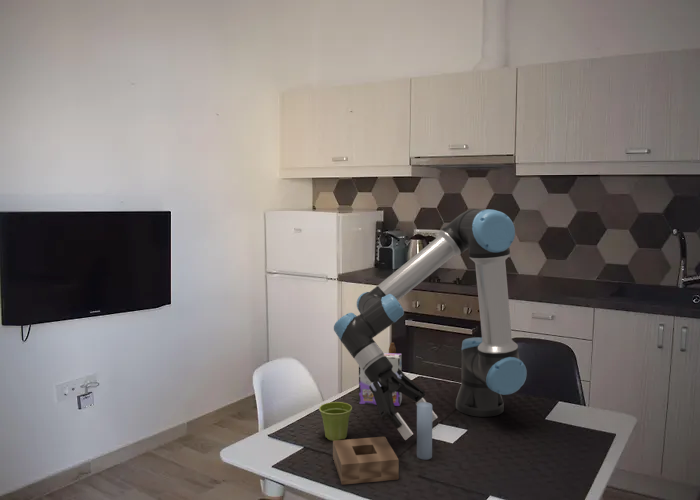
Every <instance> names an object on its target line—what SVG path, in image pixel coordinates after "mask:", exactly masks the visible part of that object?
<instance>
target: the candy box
mask: <svg viewBox="0 0 700 500" xmlns="http://www.w3.org/2000/svg"><path fill="white" fill-rule="evenodd" d="M383 353H384V355H383V356H385V357H387V358H388V360H389V361H390V362H391V364H392V365H393V368H392V371H393V372H394V373H396V372H397V371H398V370H401V371H402V370H403V369H402V368H403V367H402V353H396V354H395V353H389V352H383ZM402 372H403V371H402ZM401 379H402V378H401ZM372 383H373V382H370V380H369V379H368V377H367V376H366V375H365V370H362V369H361V368H360V366H359V365H358V395H359V396H358V404H360V405H373V406H377V404H376V401H375V398H374V395H373V393H372V391H371V390H370V388H369V386H370V385H371V384H372ZM399 385H400V384H399ZM392 396H393V403H394V407H400V406H401V404H402V401H403V400H402V399H403V394H402V393H401V392H396V391H395V392H393V393H392Z"/></svg>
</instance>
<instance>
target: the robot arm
mask: <svg viewBox="0 0 700 500" xmlns="http://www.w3.org/2000/svg"><path fill="white" fill-rule="evenodd" d="M515 235H516V229H515V224H514V223H513V221H512V219H511V218H510V217H509V216H508V215H507V214H506V213H504V212H502V211H499V210H496V209H493V208H492V209H488V208H486V209H480V208H472V209H468V210H466V211H464V212H462V213H461V214H459V215H458V216H456V217H455V218H454V219H452V221H450V222H449V223H447V225H445V226H444V227H443V228H442V229H441V230H439V232H438V236H437V237H435V238H434V239H433V240H432V241H431V242H430V243H429V244H427V245H426V246H425V247H424V248H422V249H420V251H419V252H417V253H416V254H415V255H413V256H412V257H411V258H410V259H409V260H407V262H405V263H404V264H403V265H401V266H400V267H399V268H398V269H397V270H395V271H394V272H393V273H392V274H390V275H389V276H388V277H386V278H385V279H384V280H383V281H382V282H380V283H379V284H378V285H376V286H375V287H374V288H373V289H372V290H370V291H366V292H363V293H361V294H360V295H359V296H358V298H357V300H356V308H357V310H358V312H359V314H358V315H356V314H355V313H353V312H348V313H346V314H345V315H342V316H341V317H340V318H338V320H336V322H335V323H334V325H333V331H334V333H335V334H336V336H337V337H338V339H339V341H340V342H341V343H342V344H343V346H344V347H345V348H346V350H347V351H348V353H349V354H350V355H351V357H352V358H353V359H354V361H355V362H356V363H357V365H358V367H359V366H360V368H361V369H362V370H365V375H366V376H367V377H368V379H369V380H370V382H373V383H372V384H371V385H370V386H369V388H370V390H371V391H372V393H373V395H374V398H375V401H376V404H377V405H376V407H377V410H378V414H379V415H380V418H381V419H382V420H385V422H387V421H390V422H391V423H392V425H393V426H394V428H395V429H397V431H398V433H400V435H401V437H402V438H403V439H404V440H405V441H406V440H408V439H409V438H410V437H411V436H412V435H414V433H413V431H412V429H410V427H409V426H408V424H407V423H406V421H405V420H404V419H403V417H402V416H401V415H400V413H399V412H396V409H395V406H394V403H393V396H392V393H393V392H395V391H396V392H401V393H402V395H405V396H406V397H407V398H409V399H412V400H413V401H414V402H415V405H416V406H417V404H418V403H420V402H427V401H426V399H425V398H424V397H425V396H426V391H425V389H423V388H422V387H420V386H419V385H418V384H417V383H415V382H414V381H413V380H412V379H410V377H408V376H407V375H406V374H405V373H404V372H403V371H401V370H398V371H397V372H396V373H394V372H393V371H392V368H393V365H392V364H391V362H390V361H389V360H388V358H387V357H385V356H383V355H384V353H385V352H384V351H383V350H382V349H381V348H380V347H379V345H378V344H377V343H376V341H375V340H374V338H375V337H376V336H377V335H379V334H381V333H382V332H383V331H384V330H386V329H387V328H389V327H390V326H391V325H393V324H395V323H396V322H398V320H399V319H401V318H402V317H403V316H404V314H405V310H404V307H403V306H402V305H401V303H400V302H399V300H400V299H402V298H403V297H405V296H406V295H407V294H408V293H409V292H411V291H412V290H413V289H414V288H415V287H417V286H418V285H419V284H420V283H422V282H423V281H424V280H426V279H427V278H428V277H429V276H430V275H432V274H433V273H434V272H436V270H438V269H439V268H440V267H442V266H443V265H444V264H445V263H447V262H448V261H449V260H450V259H451V258H453V257H454V256H460V255H462V254H463V253H464V252H465V251H467V250H468V255H469V258H468V259H470V260H471V261H473V262H474V264H475V267H474V268H475V275H476V287H477V295H478V296H477V297H478V307H479V309H478V310H479V317H480V331H481V332H480V333H481V337H469V338H465V339H463V340H462V343H461V384H460V387H459V390H458V392H457V397H456V399H455V409H456V410H457V411H458V412H460V413H462V414H465V415H469V416H472V417H479V418H480V417H481V418H482V417H483V418H484V417H485V418H487V417H488V418H490V417H495V416H499V415H501V414H503V413H504V408H505V407H504V406H505V404H504V400H503V396H504V395H505V396H507V395H508V396H509V395H512V394H514V393H516V392H518V391H519V390H520V389H521V387H522V386H523V385H524V384H525V382H526V379H527V376H528V374H527V372H528V371H527V368H526V365H525V364H524V362H523V361H522V360H521V359H520V356H519V355H520V354H519V345H518V343H516V342H515V341H514V340H513V336H512V335H513V334H512V325H511V313H510V302H509V301H510V300H509V292H508V291H509V290H508V280H507V279H508V276H507V268H506V267H507V266H506V260H507V259H508V258H509V257H510V255H511V251H510V250H511V249H510V247H511V246H512V243H514V240H515ZM401 378H402V379H401ZM399 384H400V385H399ZM502 395H503V396H502ZM436 419H438V415H437V414H436V413H435V412H434V410H433V409H432V423H433V422H434V421H435V420H436Z"/></svg>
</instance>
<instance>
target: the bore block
mask: <svg viewBox="0 0 700 500" xmlns="http://www.w3.org/2000/svg"><path fill="white" fill-rule="evenodd" d="M332 460H334V461H333V462H334V463H333V464H334V466H335V468H336V472H337V474H338V475H337V476H338V477H339V480H340V485H343V486H344V485H353V484H361V483H362V484H364V483H375V482H383V481H385V482H386V481H394V480H399V477H400V475H399V472H400V471H399V467H400V466H399V462H400V461H399V458H398V456H397V453H396V452H395V451H394V449H393V447H392V446H391V444H390V443H389V441H388V439H387V438H386V436H377V437H375V436H374V437H362V438H360V437H359V438H351V439H350V438H349V439H340V440H336V441H332Z"/></svg>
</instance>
